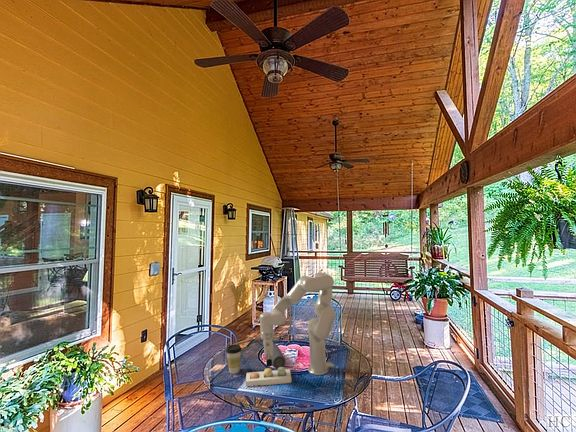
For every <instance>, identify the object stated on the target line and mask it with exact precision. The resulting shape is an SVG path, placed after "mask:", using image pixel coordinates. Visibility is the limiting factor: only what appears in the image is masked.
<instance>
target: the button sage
mask: <svg viewBox="0 0 576 432" xmlns="http://www.w3.org/2000/svg"><path fill="white" fill-rule="evenodd" d="M285 369H286V366H284V367H279V368H278V369H277V370H278V375H280V376H283V375H285V374H286V370H285Z"/></svg>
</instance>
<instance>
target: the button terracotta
mask: <svg viewBox="0 0 576 432" xmlns="http://www.w3.org/2000/svg"><path fill="white" fill-rule="evenodd" d="M255 378H259V376H258V373H252V374H251V379H255Z"/></svg>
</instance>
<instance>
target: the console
mask: <svg viewBox="0 0 576 432" xmlns="http://www.w3.org/2000/svg"><path fill="white" fill-rule="evenodd" d="M285 370H286V374H285V375H283V376H280V375H278V369H276V370H272V376H270V377H265V372H264V370H263V371H262V370H261V371H252V372H250V371H249V372H246V376H245V387H246V386H250V387H252V386H251V385H255V386H256V387H258V386H257V385H261V386H268V385H269V386H270V385H278V384H280V385H281V384H291V383H292V374H291V370H290V368H288V369H287V368H285ZM252 373H258V376H259V378H255V379H251V374H252ZM255 386H254V387H255Z"/></svg>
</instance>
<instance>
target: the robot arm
mask: <svg viewBox="0 0 576 432" xmlns="http://www.w3.org/2000/svg"><path fill="white" fill-rule="evenodd" d="M334 280H335V279H334V278H333V277H332V275H330V274H327V273H325V272H322V271H320V272H317V273H315V275H314V276H313V277H310V276H307V275H303V276H300V277H299V278H298V280H297V281H296V282H295V284H294V285H293V286H292V287H291V289H290V290H289V292H288V293H287V294H285V295H284V296H283V297H281V298H280V299H279V300H278V301H277V302H276V303H275V305H274V306H273V307H272V308H271V311H270V312H262V313H260V315H259V328H260V329H259V330H260V339H262V343H263V351H264V357H266V359H265V361H266V367H273V365H272V358H271V356H273V343H274V342H273V341H274V340H273V338H274V333H275V332H274V326H275V327H276V326H283V325H285V324H286V322H287V316H286V314H285V311H286V310H287V309H288V308H289V307H291V306H293V305H296V304H299V303H300V302H301V300H302V299H303V297H304V296H305V295H306V294H307V293H315V292H318V293H317V294H318V295H317V298H316V302H315V305H314V310H313V311H314V314H315V315H316V316H317V317H312V318H311V319H310V320H308V323H307V331H308V332H307V333H308V338H309V339H308V341H309V358H310V360H309V361H310V365H309V366H308V367H307V371H308V373H310V374H312V375H316V376H322V375H326V374H327V373H329V368H334V367H335V366H334V365H335V364H334V363H331V362H330V361H329V362H327V359H326V356H327V355H326V339H328V337H329V336H330V334H331V332H332V328H333V325H334V321H335V316H336V312H335V308H334V307H333V306H332V305H331V303H332V297H333V286H334V285H335V284H334V283H335V281H334Z"/></svg>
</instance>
